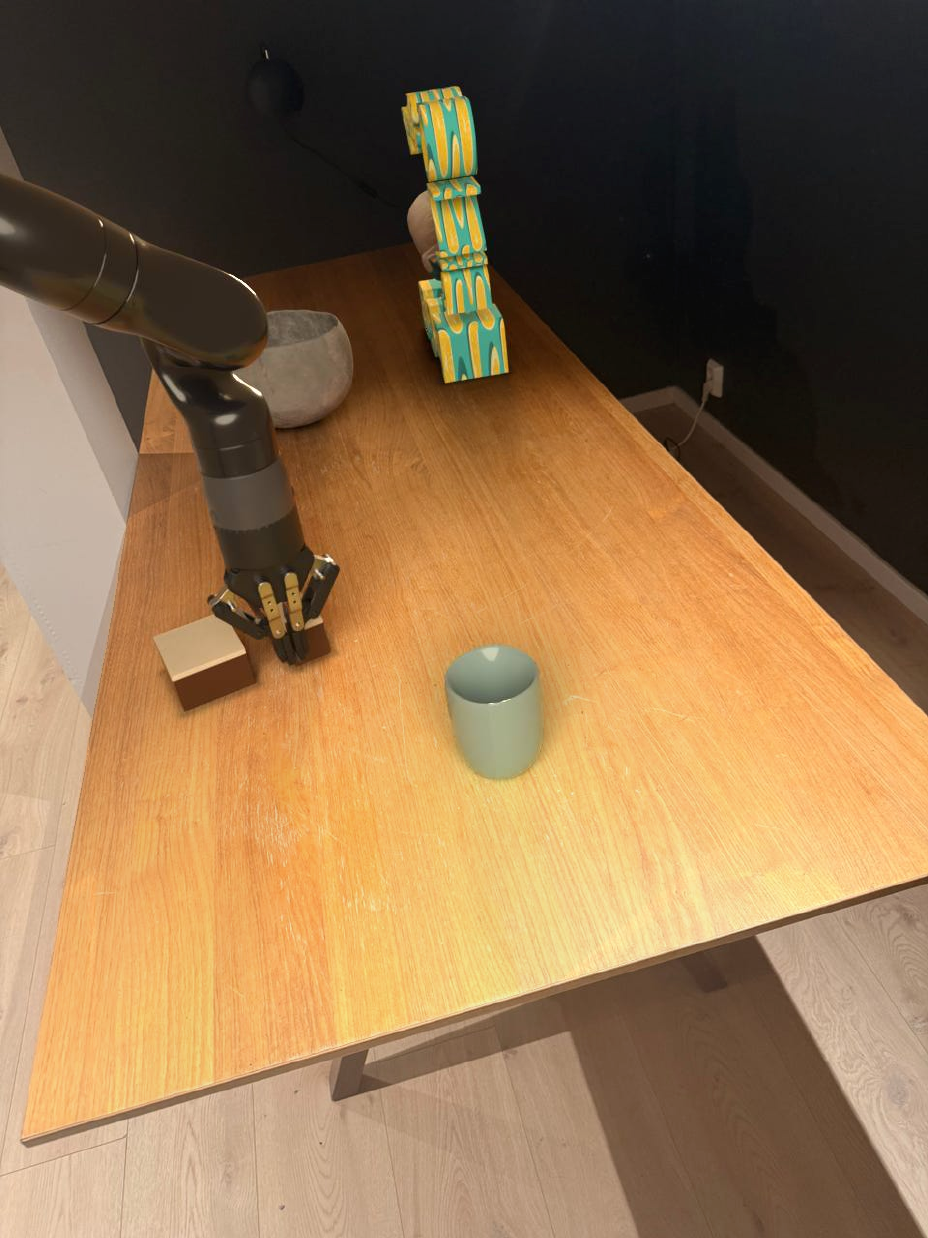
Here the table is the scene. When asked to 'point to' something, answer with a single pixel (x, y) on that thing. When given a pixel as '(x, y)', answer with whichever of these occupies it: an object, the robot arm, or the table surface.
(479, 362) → the party decoration
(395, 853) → the table surface
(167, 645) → the cake
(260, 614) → the knife
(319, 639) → the slice
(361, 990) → the table surface
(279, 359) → the bowl
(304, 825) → the table surface
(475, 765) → the cup
